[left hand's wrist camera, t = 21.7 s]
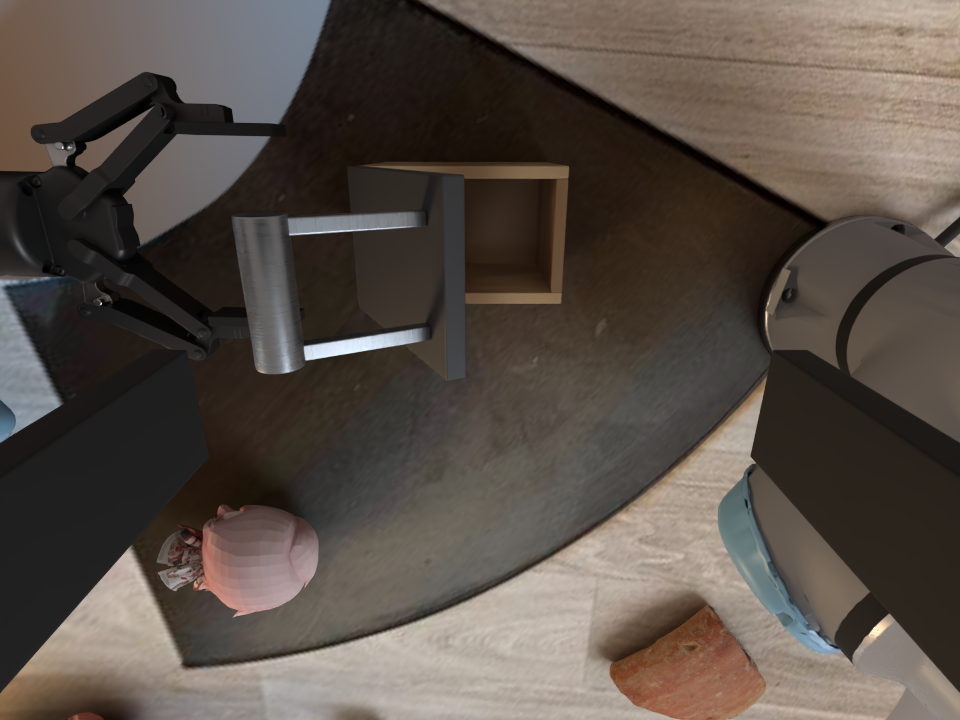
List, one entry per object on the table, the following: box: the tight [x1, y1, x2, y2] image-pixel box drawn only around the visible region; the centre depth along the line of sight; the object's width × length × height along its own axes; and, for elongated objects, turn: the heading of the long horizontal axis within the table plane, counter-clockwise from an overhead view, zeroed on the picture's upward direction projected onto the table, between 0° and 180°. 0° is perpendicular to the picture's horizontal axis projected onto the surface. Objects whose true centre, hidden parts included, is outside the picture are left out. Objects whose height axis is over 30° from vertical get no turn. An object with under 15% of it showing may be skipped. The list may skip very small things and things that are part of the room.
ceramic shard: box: [610, 605, 766, 720], centre depth 63 cm, size 15×6×15 cm
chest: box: [359, 162, 569, 304], centre depth 41 cm, size 14×9×11 cm
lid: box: [231, 166, 466, 381], centre depth 28 cm, size 14×9×9 cm
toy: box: [157, 504, 318, 617], centre depth 53 cm, size 12×11×15 cm
